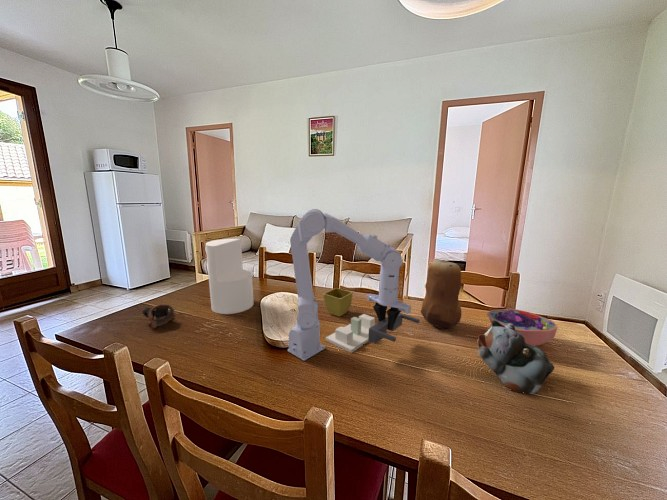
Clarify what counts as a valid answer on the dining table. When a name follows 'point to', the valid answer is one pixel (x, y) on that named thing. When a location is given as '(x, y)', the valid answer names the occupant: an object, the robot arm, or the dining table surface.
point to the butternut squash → (442, 294)
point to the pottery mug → (159, 314)
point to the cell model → (526, 325)
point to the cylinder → (228, 277)
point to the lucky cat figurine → (514, 358)
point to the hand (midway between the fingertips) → (386, 327)
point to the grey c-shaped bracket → (380, 328)
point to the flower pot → (338, 301)
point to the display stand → (352, 333)
